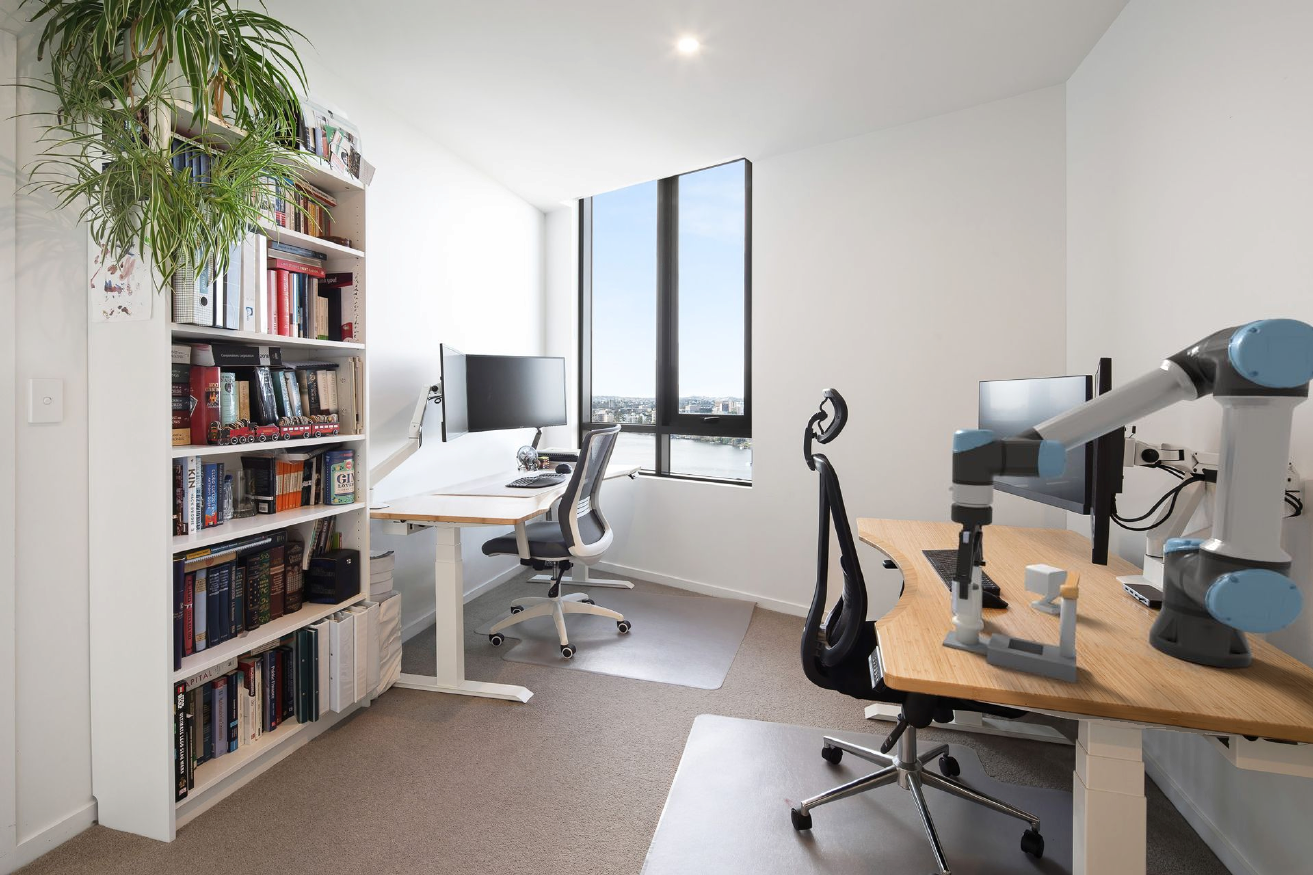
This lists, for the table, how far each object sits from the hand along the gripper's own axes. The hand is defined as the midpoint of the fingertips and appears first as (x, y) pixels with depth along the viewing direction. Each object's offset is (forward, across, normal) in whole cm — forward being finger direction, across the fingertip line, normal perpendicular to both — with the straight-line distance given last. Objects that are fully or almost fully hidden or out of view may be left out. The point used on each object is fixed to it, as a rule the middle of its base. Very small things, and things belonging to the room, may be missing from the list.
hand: (969, 604), depth 121 cm
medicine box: (+9, -16, -3) cm, 18 cm away
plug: (+8, 0, 0) cm, 8 cm away
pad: (+8, 0, 0) cm, 8 cm away
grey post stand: (+8, +4, +11) cm, 15 cm away
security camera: (+9, -35, +12) cm, 38 cm away
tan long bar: (-4, -3, +17) cm, 18 cm away
